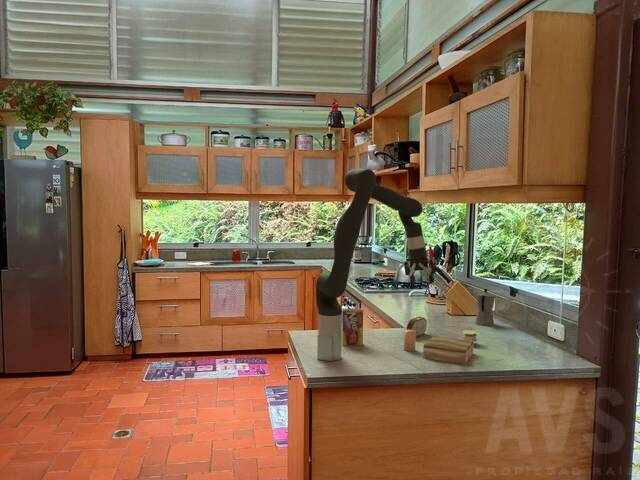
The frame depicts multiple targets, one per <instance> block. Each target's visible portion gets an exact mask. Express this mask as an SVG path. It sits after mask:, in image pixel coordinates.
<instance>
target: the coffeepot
mask: <svg viewBox="0 0 640 480" xmlns="http://www.w3.org/2000/svg"><path fill="white" fill-rule="evenodd" d="M483 291H484V292H479V293H476V294H475V298H476V306H477V313H476V316H475V321H474V323H475V324H476V325H479V326H484V327H492V326H494V325H495V321H494V314H493V308H494V304H495V298H496V295H495V294H494V293H490V292H488V289H487V288H483Z"/></svg>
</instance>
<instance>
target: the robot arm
mask: <svg viewBox="0 0 640 480" xmlns="http://www.w3.org/2000/svg"><path fill="white" fill-rule="evenodd" d="M376 182H377V178H376V173H375V172H374V170H372V169H369V168H354V169H351V170H348V172H347V173H346V175H345V177H344V183H345V186H346V188H347V189H348V190H349V191H350V192H352V193H354V195H353V198H352V200H351V203H350V204H349V205H348V207H347V208H346V209H345V211H344V212H343V213H342V214H341V216H340V217H339V219H338V221H337V224H336V227H335V230H334V232H333V233H334V234H333V241H332V242H333V251H334V253H333V254H334V255H333V256H334V259H333V263H332V268H331V269H330V271H323V272H321V273H320V274H319V275H318V276H317V279H316V283H315V303H316V308H317V311H318V312H317V315H318V317H317V342H316V343H317V346H316V347H317V348H316V349H317V351H316V353H317V354H316V359H317V360H321V361H327V362H333V361H338V360H340V359H342V346H343V345H342V308H343V306H342V305H341V304H340V303H339V301H338V298H340V297H342V296H343V294H344V293H345V291H346V289H347V285H348V280H349V275H350V274H349V273H350V268H351V263H352V260H353V258H354V257H353V256H354V252H355V248H356V245H357V242H358V239H359V235H360V231H361V228H362V224H363V221H364V217H365V215H366V211H367V208H368V205H369V202H370V200H371V199H373V200H375V201H377V202H378V203H380V204H382V205H384V206H386V207H388V208H389V209H392V210H393V211H396V212H397V213H398V214H397V215H398V216H399V219H400V220H401V223H402V226H403V227H404V230H405V238H406V246H407V252H408V257H409V260H407V261H404V262H403V266H404V275H405V276H409V280H410V283H411V284H412V285H413V286H414V285H416V283H417V281H416V276H415V275H416V272H418V271H424V272H425V273H426V274H427V275H428V280H429V284H434V282H435V277H434V275H435V273H438V269H437V268H438V267H437V264H436V259H435V258H431V259H428V254H427V248H426V241H425V238H424V234H423V229H422V224H421V223H420V222H417V221H415V220H414V219H413V218H416V217H419V216H420V215H422V213H423V209H424V208H423V205H422V203H421V202H420V201H419V200H417V199H415V198H413V197H410V196H405V195H402V194H401V193H399V192H398V191H396V190H394V189H391V188H390V187H387V186H384V185H380V184H377V183H376ZM410 266H411V267H410Z"/></svg>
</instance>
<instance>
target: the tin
mask: <svg viewBox="0 0 640 480" xmlns="http://www.w3.org/2000/svg"><path fill="white" fill-rule="evenodd" d="M427 324H428V320H427V319H426V318H425V317H422V316H416V317H413V318H411V319H410V320H408V322H407V325H406V330H408V329H410V330H415V331H416V338H417V337H420V336H423V335H424V334H425V332H426V331H427Z"/></svg>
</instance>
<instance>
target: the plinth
mask: <svg viewBox="0 0 640 480" xmlns="http://www.w3.org/2000/svg"><path fill="white" fill-rule="evenodd" d="M422 347H423V348H422V350H423V353H422V356H423V358H424V359H430V360H437V361H444V362H448V363H449V362H450V363H457V364H463V365H465V364H466V363H467V361H469V359H470V358H471V357H472V355H473V354H474V342H473V341H469V340H463V339H459V338H451V337H443V336H436V335H434V336H433V337H431V338H430V339H429V340H428V341H427V342H425V343H424V344H423V346H422Z"/></svg>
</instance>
